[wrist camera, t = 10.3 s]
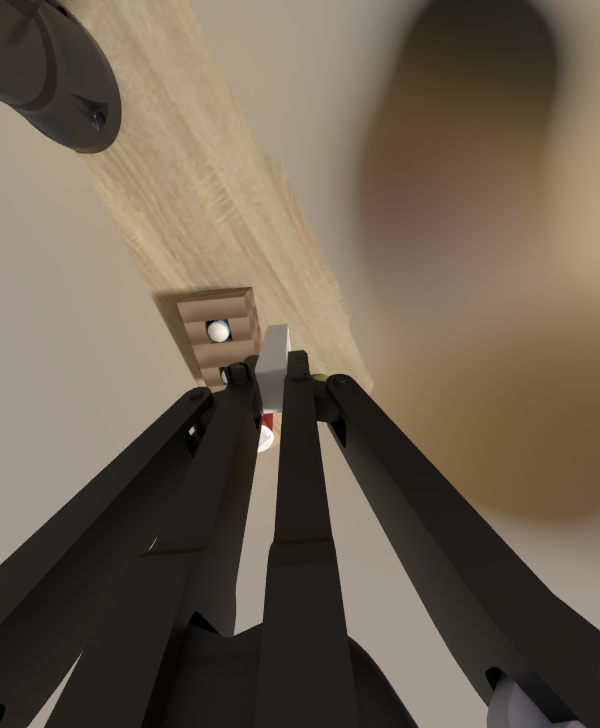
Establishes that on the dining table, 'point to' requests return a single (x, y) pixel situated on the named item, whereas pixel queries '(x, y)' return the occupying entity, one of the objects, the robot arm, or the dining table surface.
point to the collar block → (240, 341)
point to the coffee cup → (266, 431)
